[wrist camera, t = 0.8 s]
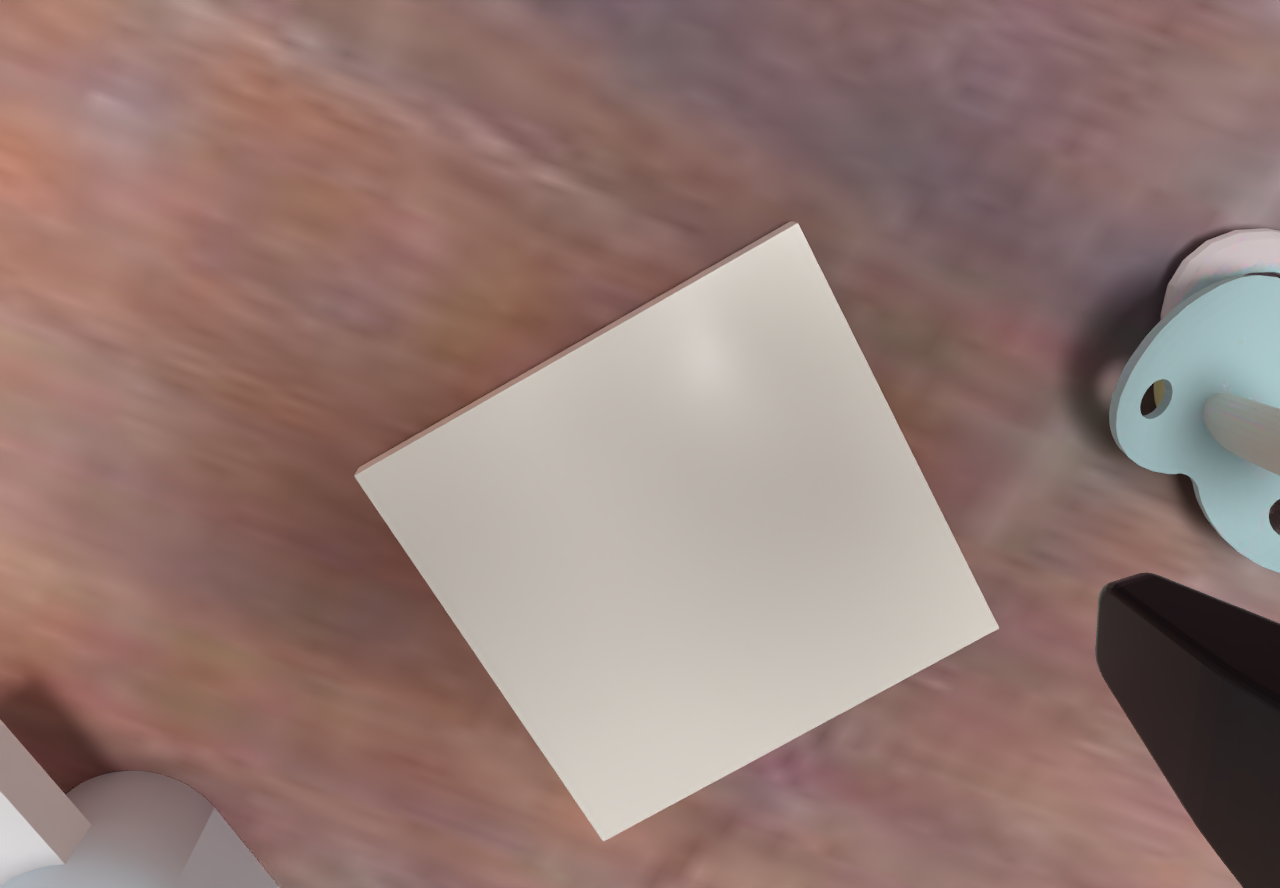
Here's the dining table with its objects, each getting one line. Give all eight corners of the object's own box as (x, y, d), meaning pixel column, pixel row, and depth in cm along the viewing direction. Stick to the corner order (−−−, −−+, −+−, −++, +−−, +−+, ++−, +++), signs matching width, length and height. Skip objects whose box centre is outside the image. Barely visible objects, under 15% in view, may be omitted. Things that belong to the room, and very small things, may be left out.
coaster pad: (987, 616, 23) (999, 628, 23) (602, 825, 24) (603, 841, 23) (790, 221, 21) (797, 222, 20) (358, 467, 21) (354, 475, 21)
